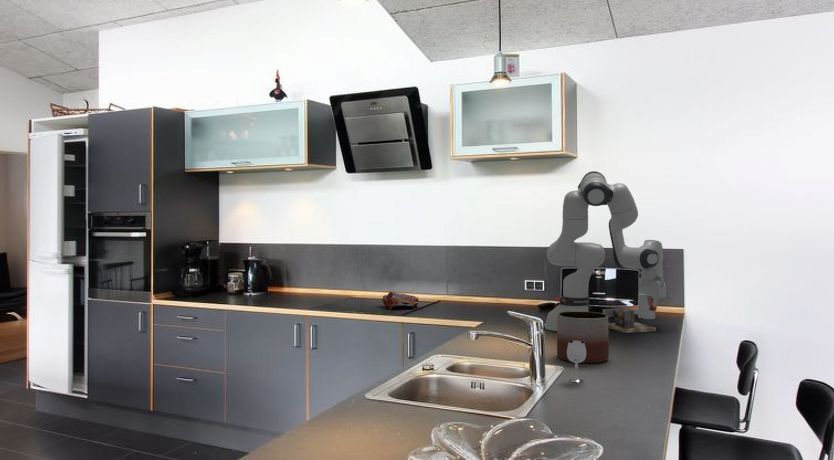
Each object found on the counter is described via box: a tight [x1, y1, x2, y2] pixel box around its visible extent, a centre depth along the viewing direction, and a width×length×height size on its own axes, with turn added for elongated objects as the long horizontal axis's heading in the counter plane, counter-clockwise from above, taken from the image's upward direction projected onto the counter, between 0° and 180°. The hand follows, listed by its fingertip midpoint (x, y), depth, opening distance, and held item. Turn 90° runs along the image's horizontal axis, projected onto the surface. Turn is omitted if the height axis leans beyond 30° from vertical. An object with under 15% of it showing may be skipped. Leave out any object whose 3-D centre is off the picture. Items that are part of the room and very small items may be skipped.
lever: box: [602, 298, 657, 318], centre depth 277 cm, size 24×4×8 cm, turn 91°
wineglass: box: [567, 341, 586, 384], centre depth 186 cm, size 6×6×12 cm
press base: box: [608, 309, 657, 334], centre depth 274 cm, size 16×15×9 cm
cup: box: [637, 292, 656, 320], centre depth 305 cm, size 8×8×12 cm
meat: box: [382, 290, 420, 311], centre depth 342 cm, size 21×21×10 cm
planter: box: [556, 311, 610, 364], centre depth 216 cm, size 18×18×16 cm
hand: (652, 305), depth 277 cm, fingers open, 4 cm apart
